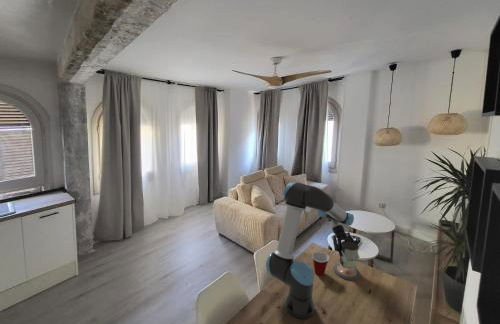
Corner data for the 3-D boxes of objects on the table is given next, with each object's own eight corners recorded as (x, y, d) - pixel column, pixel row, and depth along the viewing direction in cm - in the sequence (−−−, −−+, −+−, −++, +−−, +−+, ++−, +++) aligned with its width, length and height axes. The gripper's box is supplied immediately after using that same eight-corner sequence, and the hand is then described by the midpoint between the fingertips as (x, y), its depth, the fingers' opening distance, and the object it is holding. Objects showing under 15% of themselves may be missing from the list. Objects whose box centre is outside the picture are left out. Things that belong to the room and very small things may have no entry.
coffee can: (335, 262, 155) (337, 243, 152) (345, 258, 161) (347, 239, 158) (350, 271, 147) (352, 250, 144) (359, 265, 152) (361, 246, 150)
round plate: (335, 278, 148) (336, 276, 148) (332, 263, 163) (332, 261, 163) (362, 282, 145) (363, 280, 145) (356, 266, 161) (356, 265, 160)
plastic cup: (307, 268, 157) (309, 252, 155) (323, 267, 159) (324, 251, 157) (314, 279, 147) (316, 261, 144) (330, 277, 148) (332, 260, 146)
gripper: (346, 226, 168) (361, 258, 157) (320, 230, 160) (334, 264, 149) (353, 222, 163) (369, 255, 151) (326, 226, 154) (341, 262, 143)
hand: (351, 260), depth 150 cm, fingers closed on coffee can, 10 cm apart
